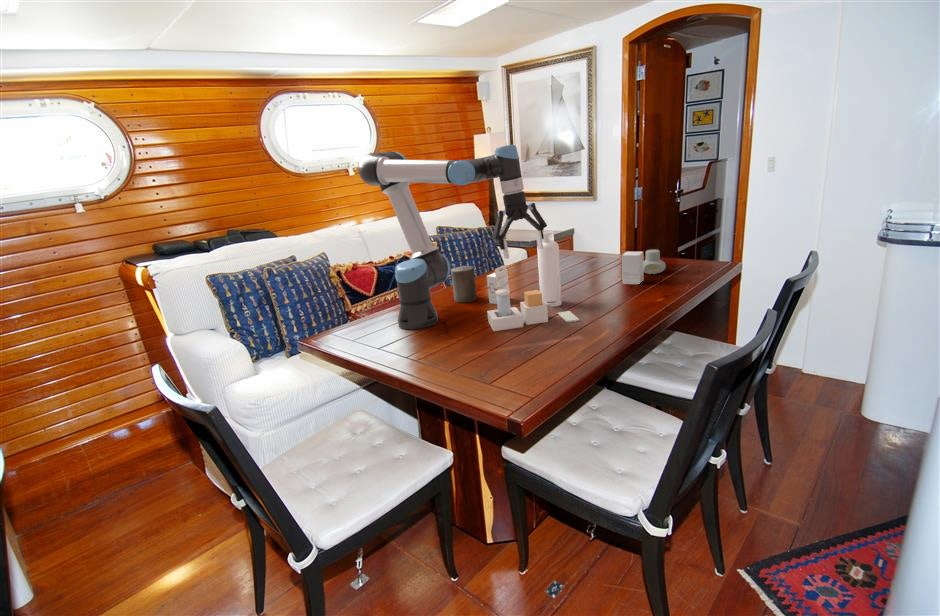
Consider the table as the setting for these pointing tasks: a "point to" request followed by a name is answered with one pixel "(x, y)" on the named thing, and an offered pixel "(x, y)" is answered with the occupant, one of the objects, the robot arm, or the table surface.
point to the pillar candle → (464, 284)
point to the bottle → (549, 270)
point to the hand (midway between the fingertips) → (523, 253)
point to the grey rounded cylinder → (503, 302)
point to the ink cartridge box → (497, 283)
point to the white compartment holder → (518, 317)
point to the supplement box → (632, 267)
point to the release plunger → (533, 298)
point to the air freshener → (653, 262)
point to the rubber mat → (568, 316)
